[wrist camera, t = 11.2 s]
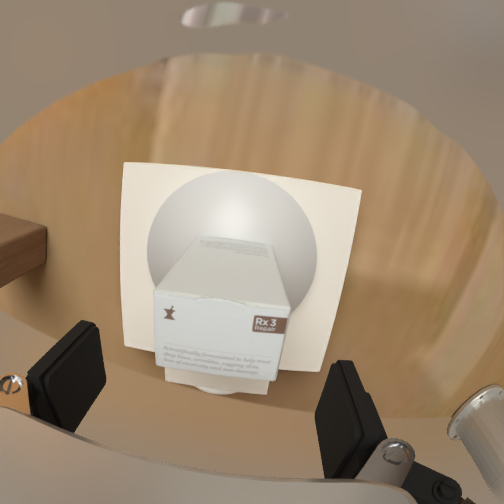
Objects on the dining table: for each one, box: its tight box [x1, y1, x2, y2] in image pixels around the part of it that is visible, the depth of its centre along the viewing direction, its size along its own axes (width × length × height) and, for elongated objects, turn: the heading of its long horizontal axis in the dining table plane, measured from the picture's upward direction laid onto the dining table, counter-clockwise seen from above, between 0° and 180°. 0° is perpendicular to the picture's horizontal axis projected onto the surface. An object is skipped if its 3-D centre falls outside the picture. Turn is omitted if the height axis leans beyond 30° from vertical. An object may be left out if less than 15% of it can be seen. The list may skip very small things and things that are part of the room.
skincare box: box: [153, 235, 291, 381], centre depth 19 cm, size 6×4×12 cm
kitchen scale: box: [120, 162, 362, 395], centre depth 25 cm, size 20×18×8 cm
